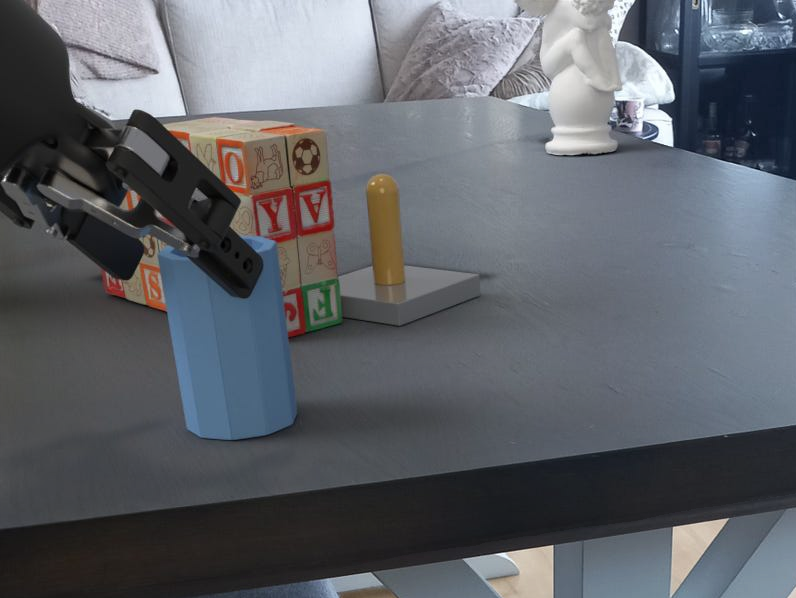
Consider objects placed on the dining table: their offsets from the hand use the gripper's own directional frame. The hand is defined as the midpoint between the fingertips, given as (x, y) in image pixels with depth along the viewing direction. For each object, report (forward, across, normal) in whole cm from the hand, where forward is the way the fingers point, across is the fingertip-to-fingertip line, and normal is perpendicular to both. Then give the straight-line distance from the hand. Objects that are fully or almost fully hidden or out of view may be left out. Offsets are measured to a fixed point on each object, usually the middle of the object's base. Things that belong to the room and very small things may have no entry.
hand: (190, 272), depth 59 cm
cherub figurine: (+70, +37, -58) cm, 99 cm away
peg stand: (+23, +9, -12) cm, 28 cm away
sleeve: (+7, 0, +4) cm, 8 cm away
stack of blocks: (+19, +20, -7) cm, 28 cm away
